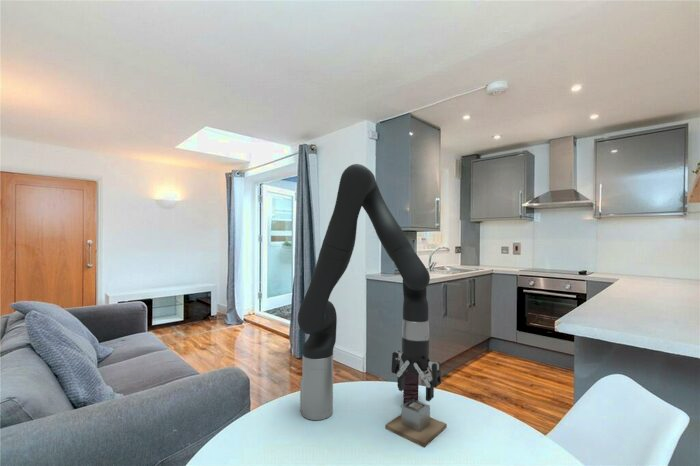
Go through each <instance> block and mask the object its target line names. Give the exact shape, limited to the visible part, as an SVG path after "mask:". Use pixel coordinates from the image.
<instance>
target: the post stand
mask: <svg viewBox="0 0 700 466" xmlns="http://www.w3.org/2000/svg"><path fill="white" fill-rule="evenodd" d="M409 407H410V408H413V409H415V410H420V409H421V408H422V407H423V405H420V404H418V403H415V402H414V403H412V404H411V405H409ZM384 427H385V430H388V431H389V432H392V433H393V434H396V435H397V436H400V437H402V438H404V439H406V440H408V441H411V442H413V443H414V444H417V445H419V446H421V447H423V448H425V447H427V446H428V445H429V444H430V443H431V442H432V441H434V439H436V437H438V436H439V435H440V434H441V433H442V432H443V431H444V430H445V429H446V428H447V423H446V422H444V421H440V420H439V419H436V418H433V417H431V416H430V424H429V425H428V426H427V427H426V428H424V429H423V430H422V431H421V432H420V433H419V432H417V431H415V430H413V429H410V428H408V427H406V426H404V425H401V414H398V416H396V417H394V418H393V419H391V420H390V421H389V422H387V423H385V426H384Z"/></svg>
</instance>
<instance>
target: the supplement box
mask: <svg viewBox="0 0 700 466" xmlns="http://www.w3.org/2000/svg"><path fill="white" fill-rule="evenodd" d="M404 376H405V389H404V390H403V391H402V392H403V394H402V395H403V396H402V397H403V404H405V403H407V402H408V401H410V400H411V399H414V400H417V401H419V385H420V384H419V382H420V381H419V379H420V378H419V376H420V375H416V374H414V373H410V372H408V371H407V372H406V373H405V374H404ZM403 404H402V405H403Z"/></svg>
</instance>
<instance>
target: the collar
mask: <svg viewBox="0 0 700 466" xmlns="http://www.w3.org/2000/svg"><path fill="white" fill-rule="evenodd" d="M414 402H415V403H418V404H420V405H423V407H422V408H421V409H420V410H415V409H413V408H410V407H409V405H411V404H412V403H414ZM400 406H401V409H400V411H401V414H400V415H401V425H404V426H406V427H408V428H410V429H413V430H415V431H417V432H419V433H420V432H421V431H422V430H423V429H424V428H426V427H427V426H428V425H429V424H430V417H431V405H430V404H427V403H424V402H421V401H419V400H418V401H417V400H414V399H411V400H410V401H408V402H407V403H405V404H402V405H400Z"/></svg>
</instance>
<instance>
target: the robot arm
mask: <svg viewBox="0 0 700 466" xmlns="http://www.w3.org/2000/svg"><path fill="white" fill-rule="evenodd" d="M337 190H338V191H337V193H336V194H337V195H336V198H335V204H334V207H333V212H332V215H331V218H330V219H329V222H328V226H327V229H326V232H325V235H324V237H323V240H322V244H321V247H320V250H319V253H318V257H317V261H316V264H315V267H314V270H313V273H312V276H311V279H310V283H309V286H308V288H307V291H306V292H305V296H304V298H303V300H302V303H301V304H300V307H299V310H298V314H297V324H298V327H299V329H300V330H301V332H302V333H304V334H306V335H309V336H308V338H307V339H306V341H305V342H304V344H303V345H302V375H301V376H302V377H301V378H300V380H299V383H300V384H299V388H300V392H299V396H300V397H299V398H300V399H299V411H300V412H301V415H302V416H303V417H304V418H305V419H307V420H311V421H321V420H322V421H323V420H325V419H328V418H329V417H331V416H332V415H333V413H334V348H335V345H336V341H337V325H338V324H337V323H338V319H337V317H338V316H337V312H336V311H337V310H336V308H335V305H334V304H333V302H332V301H330V300H329V299H330V296H331V294H332V292H333V290H334V288H335V287H336V285H337V284H338V282H339V281H340V279H341V278H342V277H343V275H344V273H346V270H347V268H348V266H349V263H350V261H351V257H352V255H353V251H354V248H355V244H356V239H357V238H356V237H357V229H358V228H357V227H358V219H359V215H360V212H361V209H362V208H363V209H364V211H365V213H366V214H367V215H368V217H369V220H370V221H371V224H372V227H373V229H374V232H375V233H376V235H377V238H378V240H379V242H380V244H381V245H382V247H383V248H384V250H385V252H386V254H387V255H388V257H389V259H391V261H392V262H393V263H394V265H395V267H396V269H397V271H398V272H399V274H400V276H401V278H402V292H403V303H402V324H401V351H400V350H395V351H393V352H392V353H391V355H392V357H391V373H393V374H395V375H396V377H397V384H396V385H397V388H398V391H400V392H403V390H404V389H405V376H404V374H405V373H406V372H407V371H408V372H410V373H414V374H416V375H419V376H420V378H421V380H422V381H423V382H424V384H425V385H426V386H425V401H426V402H430V401H432V399H433V398H434V397H435V388H437V387H438V386H440V385H441V384H442V375H441V362H440V361H431V360H430V359H429V358H430V357H429V355H430V335H431V334H430V325H429V302H428V299H427V287H428V285H429V284H430V279H431V276H430V272H429V271H428V269H427V267H426V265H425V264H424V263H423V261H422V260H421V258H420V257H419V255H418V254H417V253H416V252H415V250H414V248H413V245H412V244H411V242H410V241H409V239H408V237H407V236H406V234H405V232H404V231H403V228H401V226H400V224H399V223H398V221H397V220H396V218H395V217H394V215H393V213H392V212H391V211H390V209H389V207H388V206H387V204H386V202H385V200H384V198H383V196H382V194H381V191H380V189H379V186H378V183H377V180H376V177H375V175H374V173H373V172H372V170H370V169H369V168H368V167H366V166H365V165H362V164H359V163H353V164H350V165H349V166H347V167H346V168H345V169H344V170H343V172H342V173H341V176H340V179H339V184H338V189H337ZM401 361H402V362H403V364H402V366H401ZM400 366H401V367H400Z"/></svg>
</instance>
